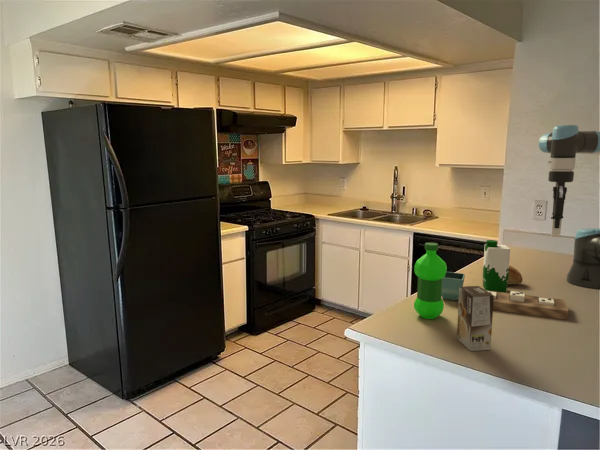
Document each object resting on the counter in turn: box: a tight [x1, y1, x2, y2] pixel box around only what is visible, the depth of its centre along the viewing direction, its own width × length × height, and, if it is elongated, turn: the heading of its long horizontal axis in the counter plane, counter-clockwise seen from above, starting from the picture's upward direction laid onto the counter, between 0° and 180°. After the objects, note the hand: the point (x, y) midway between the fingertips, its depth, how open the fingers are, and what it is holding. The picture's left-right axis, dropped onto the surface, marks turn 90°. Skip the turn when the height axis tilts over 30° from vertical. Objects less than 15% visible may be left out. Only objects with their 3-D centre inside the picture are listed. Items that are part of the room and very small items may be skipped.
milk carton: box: [482, 239, 511, 293], centre depth 172 cm, size 9×9×20 cm
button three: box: [509, 290, 526, 302], centre depth 154 cm, size 4×4×4 cm
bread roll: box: [507, 265, 523, 285], centre depth 182 cm, size 10×15×8 cm, turn 58°
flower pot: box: [441, 271, 466, 301], centre depth 164 cm, size 9×9×9 cm
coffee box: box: [456, 285, 494, 352], centre depth 125 cm, size 9×6×16 cm
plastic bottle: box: [413, 242, 448, 320], centre depth 145 cm, size 10×10×25 cm
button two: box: [538, 296, 554, 306], centre depth 150 cm, size 4×4×4 cm
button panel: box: [486, 290, 569, 320], centre depth 154 cm, size 30×12×3 cm, turn 64°
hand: (555, 236), depth 156 cm, fingers closed
